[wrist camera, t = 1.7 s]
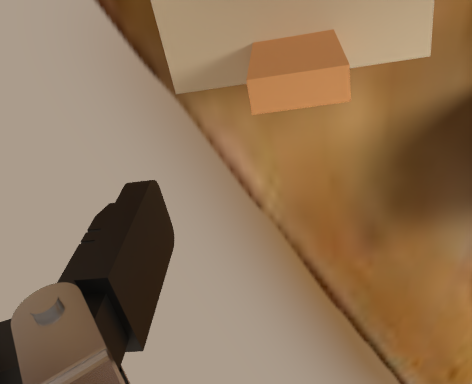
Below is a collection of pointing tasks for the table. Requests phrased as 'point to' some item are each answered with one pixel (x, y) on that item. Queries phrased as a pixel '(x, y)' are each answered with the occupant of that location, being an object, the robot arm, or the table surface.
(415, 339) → the table surface
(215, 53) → the carton lid
